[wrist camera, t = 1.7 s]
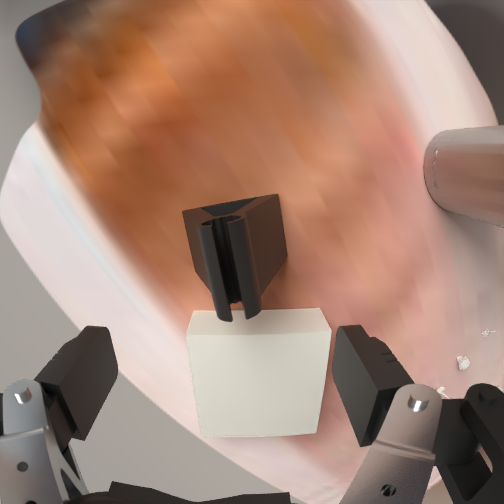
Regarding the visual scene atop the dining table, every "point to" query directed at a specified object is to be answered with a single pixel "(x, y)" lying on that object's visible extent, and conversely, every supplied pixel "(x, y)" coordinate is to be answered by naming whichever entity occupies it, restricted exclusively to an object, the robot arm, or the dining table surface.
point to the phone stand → (237, 250)
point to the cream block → (258, 371)
